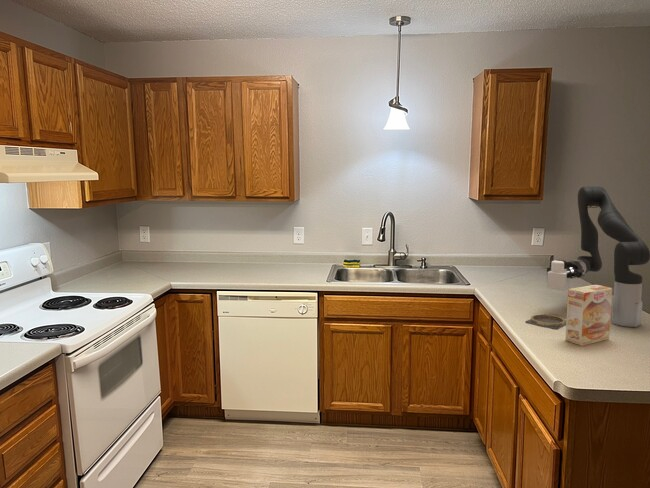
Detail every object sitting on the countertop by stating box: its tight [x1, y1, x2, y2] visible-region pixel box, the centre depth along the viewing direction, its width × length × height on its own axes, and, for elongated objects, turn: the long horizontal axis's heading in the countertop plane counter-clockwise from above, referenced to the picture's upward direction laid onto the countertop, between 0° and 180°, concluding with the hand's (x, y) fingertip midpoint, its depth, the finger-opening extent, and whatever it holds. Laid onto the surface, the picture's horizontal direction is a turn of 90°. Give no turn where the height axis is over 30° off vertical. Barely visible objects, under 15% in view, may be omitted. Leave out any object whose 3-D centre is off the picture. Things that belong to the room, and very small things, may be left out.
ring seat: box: [525, 313, 567, 330], centre depth 193 cm, size 13×13×2 cm
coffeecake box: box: [565, 284, 614, 347], centre depth 171 cm, size 15×7×20 cm, turn 114°
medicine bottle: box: [546, 259, 571, 291], centre depth 200 cm, size 7×7×12 cm
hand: (557, 274), depth 199 cm, fingers closed on medicine bottle, 7 cm apart
